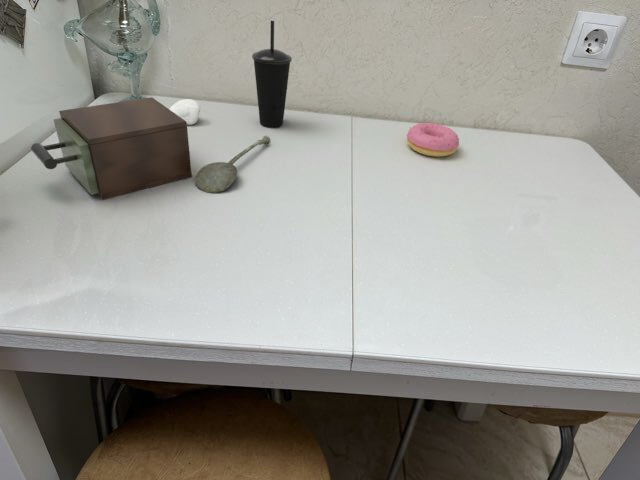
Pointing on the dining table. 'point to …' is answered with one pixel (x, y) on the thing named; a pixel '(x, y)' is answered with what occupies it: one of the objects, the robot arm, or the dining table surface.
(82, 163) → the drawer
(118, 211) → the dining table surface
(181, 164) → the cabinet
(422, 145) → the doughnut
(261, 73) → the drinking cup
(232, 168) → the soupspoon
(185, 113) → the dumpling
